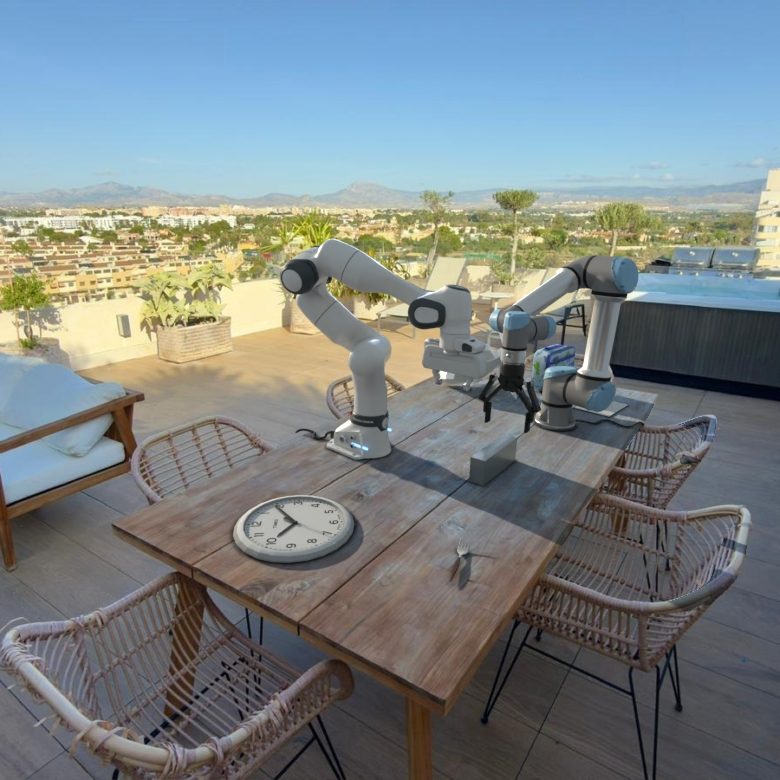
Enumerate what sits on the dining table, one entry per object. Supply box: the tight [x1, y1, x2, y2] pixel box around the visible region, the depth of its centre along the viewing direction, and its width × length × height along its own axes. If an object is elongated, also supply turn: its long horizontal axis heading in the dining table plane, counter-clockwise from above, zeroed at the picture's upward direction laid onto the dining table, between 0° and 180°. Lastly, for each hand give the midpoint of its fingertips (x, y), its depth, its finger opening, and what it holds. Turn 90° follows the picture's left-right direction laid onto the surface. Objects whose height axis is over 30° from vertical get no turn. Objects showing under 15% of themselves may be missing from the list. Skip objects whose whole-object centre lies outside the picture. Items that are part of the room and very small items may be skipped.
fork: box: [449, 535, 471, 582], centre depth 119 cm, size 3×16×2 cm, turn 160°
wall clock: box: [232, 494, 355, 564], centre depth 132 cm, size 30×2×30 cm
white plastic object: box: [439, 332, 529, 400], centre depth 245 cm, size 37×45×31 cm
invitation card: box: [573, 400, 629, 418], centre depth 226 cm, size 21×1×15 cm
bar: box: [468, 433, 518, 487], centre depth 164 cm, size 23×5×8 cm, turn 143°
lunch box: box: [530, 343, 576, 392], centre depth 248 cm, size 26×11×21 cm, turn 134°
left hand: (452, 387), depth 156 cm, fingers open, 8 cm apart
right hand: (506, 426), depth 167 cm, fingers open, 13 cm apart
